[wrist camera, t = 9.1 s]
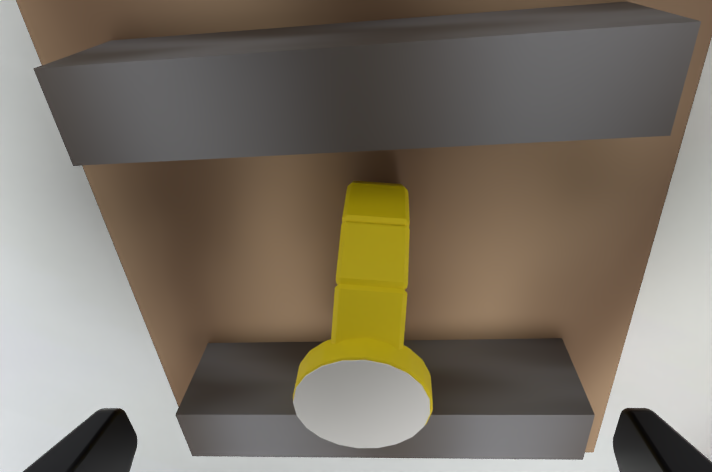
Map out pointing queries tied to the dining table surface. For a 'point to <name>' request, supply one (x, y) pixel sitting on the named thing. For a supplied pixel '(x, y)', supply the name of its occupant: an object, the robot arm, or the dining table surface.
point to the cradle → (385, 165)
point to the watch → (367, 332)
